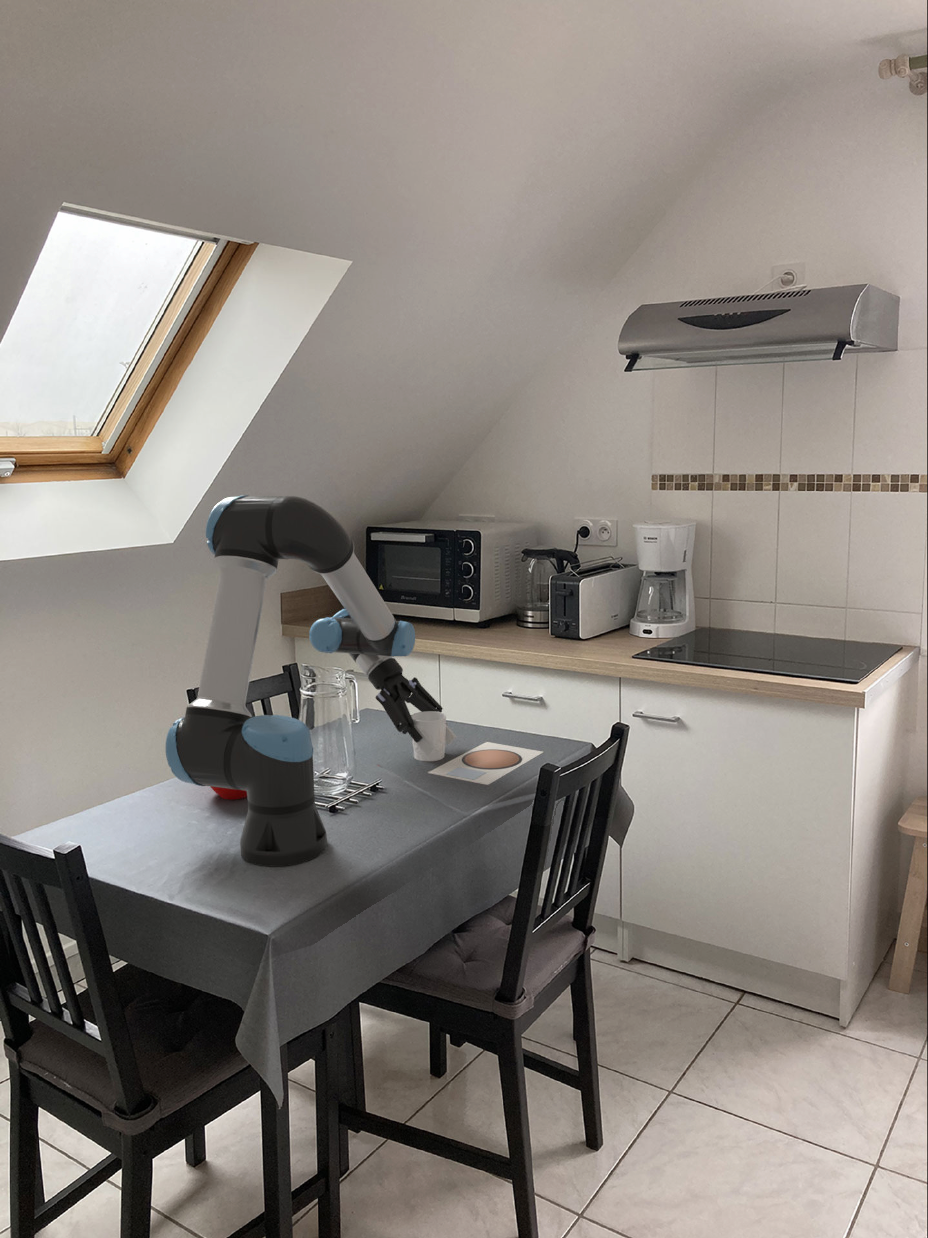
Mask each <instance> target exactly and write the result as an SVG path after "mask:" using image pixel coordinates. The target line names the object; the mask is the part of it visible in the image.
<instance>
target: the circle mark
mask: <svg viewBox="0 0 928 1238" xmlns="http://www.w3.org/2000/svg"><path fill="white" fill-rule="evenodd" d="M521 761H522V757H521V756H520V755H519V754H517V753H515V752H511V751H507V750H497V749H489V750H479V751H474V752H471V753H468V754H466V755H465V756H463V758H462V762H463V763H464V764H465V765H467V766H469V767H473V768H478V769H489V770H492V769H504V768H509V767H513V766H515V765H518V764H519V763H520V762H521Z"/></svg>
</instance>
